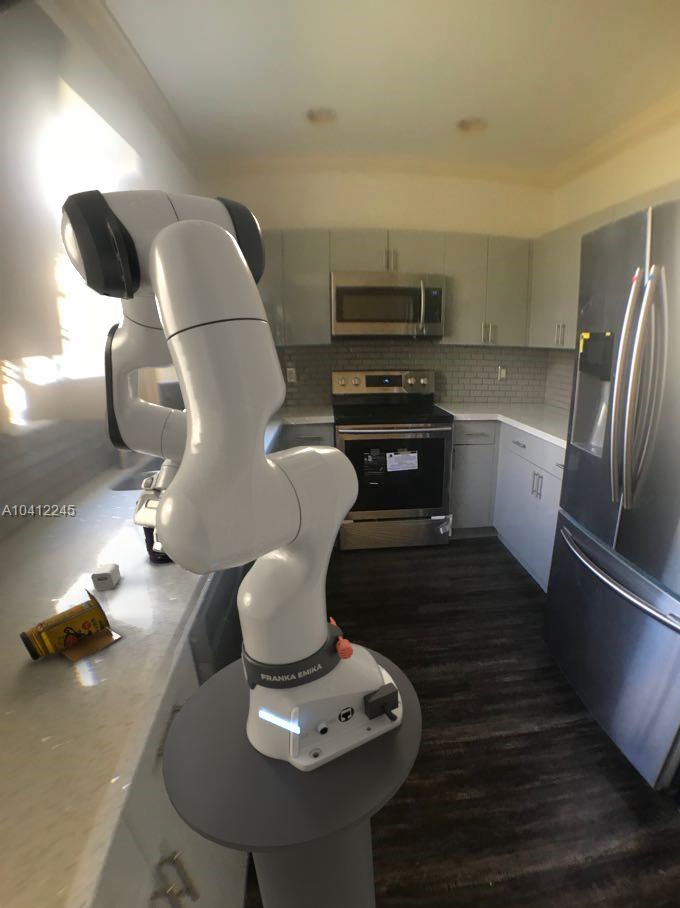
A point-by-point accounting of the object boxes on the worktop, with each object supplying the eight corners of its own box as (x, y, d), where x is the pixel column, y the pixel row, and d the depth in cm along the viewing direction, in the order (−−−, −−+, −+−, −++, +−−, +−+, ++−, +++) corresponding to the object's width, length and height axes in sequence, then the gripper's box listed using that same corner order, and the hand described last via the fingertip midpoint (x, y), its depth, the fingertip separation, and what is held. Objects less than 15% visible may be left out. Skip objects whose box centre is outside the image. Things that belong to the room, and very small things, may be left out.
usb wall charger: (95, 590, 100) (90, 574, 99) (106, 575, 106) (102, 560, 105) (115, 588, 101) (110, 572, 99) (125, 573, 107) (121, 557, 106)
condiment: (114, 634, 84) (38, 672, 76) (98, 617, 90) (26, 651, 82) (101, 601, 81) (21, 637, 73) (85, 586, 87) (9, 618, 79)
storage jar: (140, 560, 113) (125, 503, 108) (172, 544, 121) (161, 490, 116) (168, 567, 109) (155, 509, 104) (200, 550, 117) (189, 495, 112)
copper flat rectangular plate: (93, 621, 89) (93, 619, 89) (121, 637, 84) (120, 636, 84) (48, 643, 83) (47, 642, 83) (74, 662, 78) (74, 661, 78)
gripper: (225, 493, 91) (206, 561, 89) (164, 489, 102) (146, 549, 99) (199, 483, 86) (178, 554, 83) (138, 480, 97) (117, 543, 94)
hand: (160, 552), depth 91 cm, fingers closed
